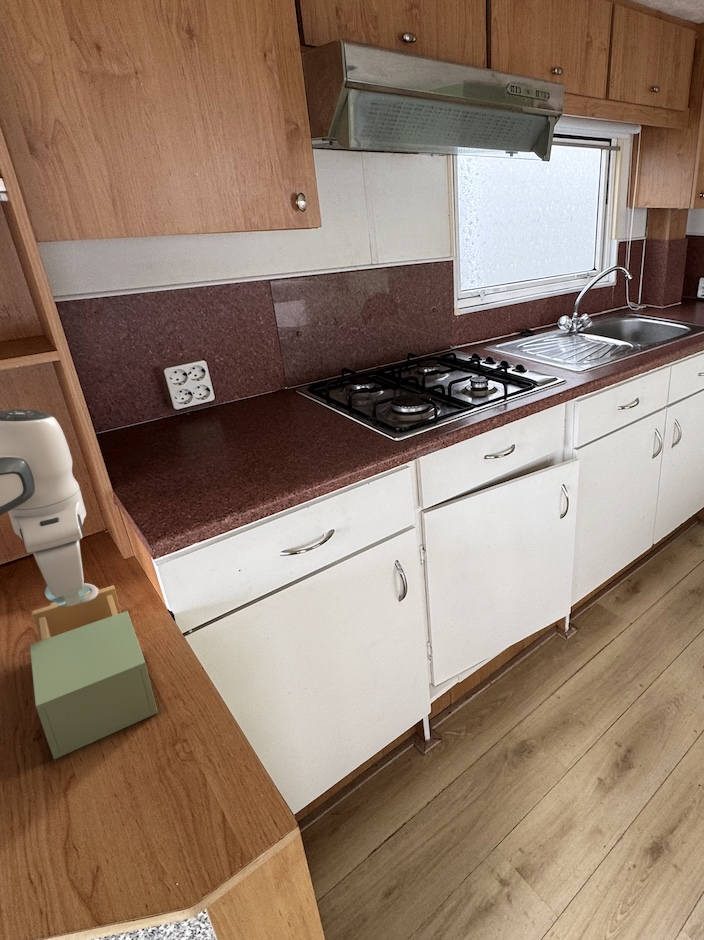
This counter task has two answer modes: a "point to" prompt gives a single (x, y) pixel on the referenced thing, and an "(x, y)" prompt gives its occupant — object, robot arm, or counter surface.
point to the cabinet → (90, 683)
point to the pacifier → (82, 593)
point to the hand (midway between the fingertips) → (71, 589)
